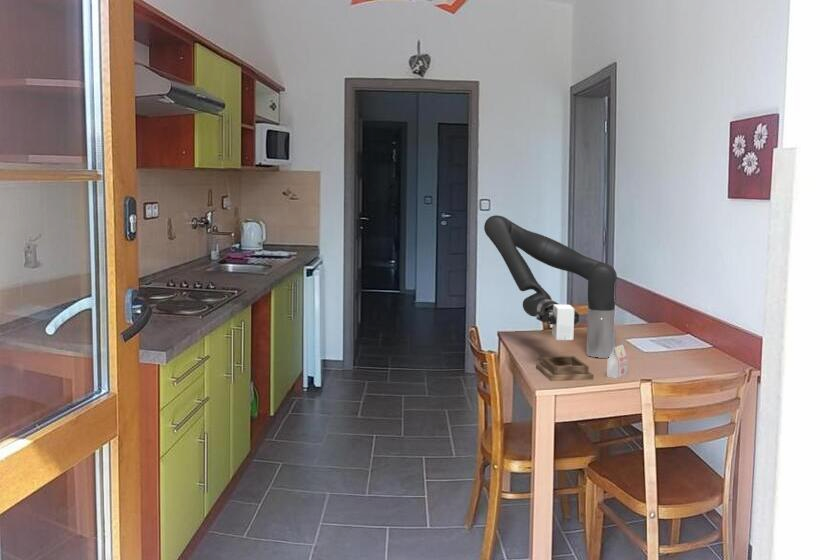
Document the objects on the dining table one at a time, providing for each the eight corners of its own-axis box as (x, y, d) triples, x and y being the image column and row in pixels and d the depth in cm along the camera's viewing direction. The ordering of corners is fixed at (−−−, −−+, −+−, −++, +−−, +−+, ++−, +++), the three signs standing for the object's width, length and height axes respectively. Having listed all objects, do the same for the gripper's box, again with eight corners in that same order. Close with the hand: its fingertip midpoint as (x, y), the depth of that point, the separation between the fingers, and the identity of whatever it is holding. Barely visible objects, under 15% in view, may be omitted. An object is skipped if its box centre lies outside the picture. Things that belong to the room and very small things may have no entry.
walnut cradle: (576, 366, 247) (576, 355, 247) (593, 379, 231) (593, 367, 231) (536, 367, 246) (536, 356, 245) (550, 380, 230) (551, 368, 229)
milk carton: (606, 377, 234) (608, 347, 233) (616, 373, 239) (617, 343, 238) (617, 379, 232) (618, 348, 230) (626, 375, 237) (628, 345, 235)
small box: (573, 340, 234) (575, 308, 232) (555, 340, 234) (557, 308, 232) (568, 335, 242) (570, 304, 240) (551, 335, 242) (553, 303, 240)
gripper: (530, 300, 250) (544, 309, 233) (570, 300, 251) (587, 309, 235) (529, 322, 251) (543, 332, 234) (569, 321, 252) (586, 332, 236)
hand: (565, 321), depth 235 cm, fingers closed on small box, 6 cm apart
